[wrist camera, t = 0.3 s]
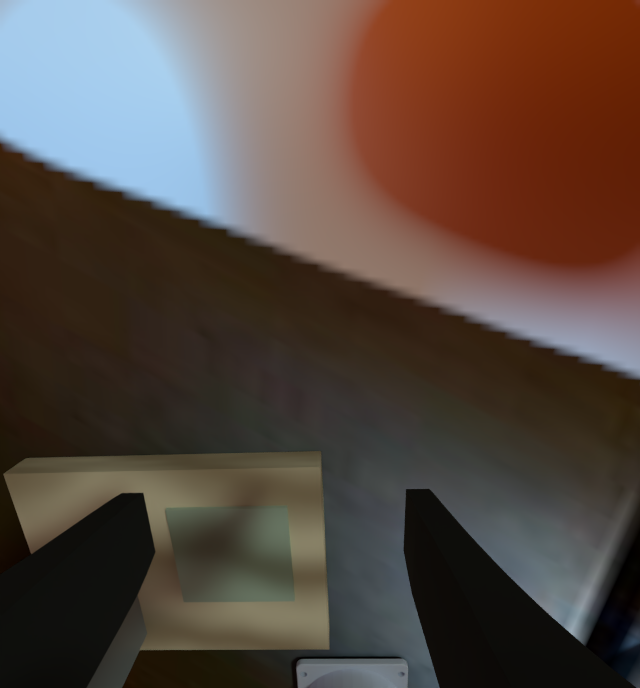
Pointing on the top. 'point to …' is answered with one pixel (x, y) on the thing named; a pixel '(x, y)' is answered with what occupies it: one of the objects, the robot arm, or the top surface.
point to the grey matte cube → (121, 651)
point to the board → (204, 540)
